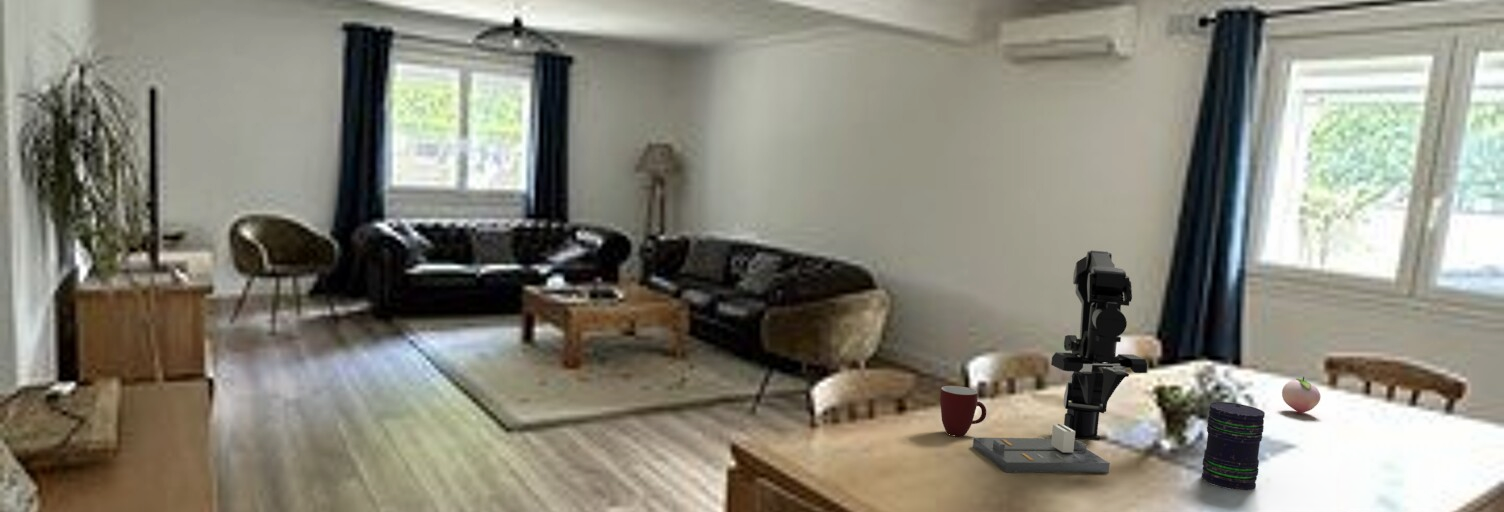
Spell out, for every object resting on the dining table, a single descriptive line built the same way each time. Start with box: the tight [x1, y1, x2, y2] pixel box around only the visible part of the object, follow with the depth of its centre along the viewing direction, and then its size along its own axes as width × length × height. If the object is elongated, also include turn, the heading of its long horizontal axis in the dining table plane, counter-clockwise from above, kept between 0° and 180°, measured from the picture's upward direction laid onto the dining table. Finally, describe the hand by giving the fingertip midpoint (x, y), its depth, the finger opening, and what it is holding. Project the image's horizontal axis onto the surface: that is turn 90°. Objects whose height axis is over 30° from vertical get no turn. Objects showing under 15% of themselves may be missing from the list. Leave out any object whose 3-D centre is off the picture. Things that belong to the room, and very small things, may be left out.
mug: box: [939, 385, 987, 437], centre depth 203 cm, size 11×8×10 cm
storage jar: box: [1201, 401, 1266, 492], centre depth 181 cm, size 10×10×15 cm
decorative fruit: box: [1281, 376, 1321, 414], centre depth 243 cm, size 9×8×10 cm
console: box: [972, 437, 1110, 474], centre depth 189 cm, size 22×16×4 cm
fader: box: [1051, 423, 1076, 452], centre depth 189 cm, size 2×5×5 cm, turn 10°
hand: (1095, 403), depth 190 cm, fingers open, 3 cm apart
